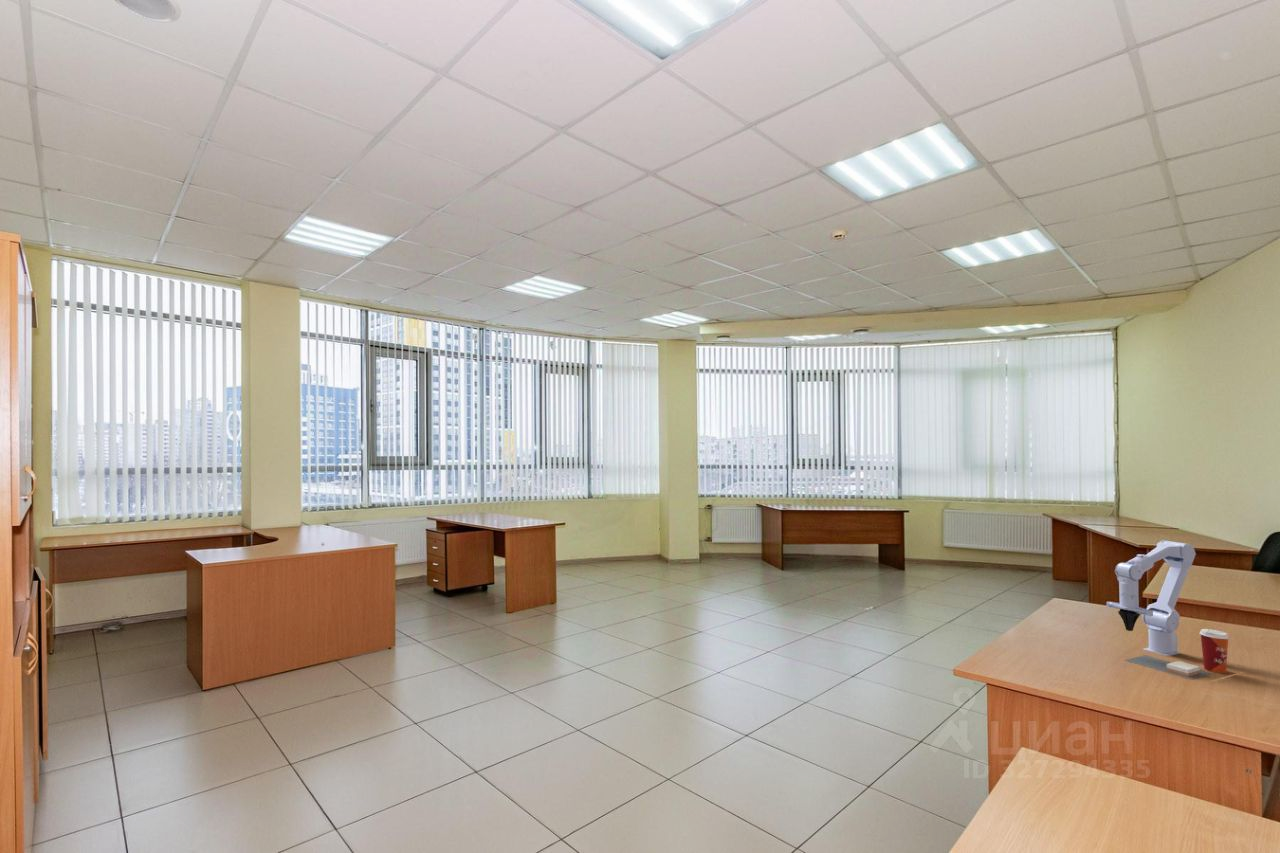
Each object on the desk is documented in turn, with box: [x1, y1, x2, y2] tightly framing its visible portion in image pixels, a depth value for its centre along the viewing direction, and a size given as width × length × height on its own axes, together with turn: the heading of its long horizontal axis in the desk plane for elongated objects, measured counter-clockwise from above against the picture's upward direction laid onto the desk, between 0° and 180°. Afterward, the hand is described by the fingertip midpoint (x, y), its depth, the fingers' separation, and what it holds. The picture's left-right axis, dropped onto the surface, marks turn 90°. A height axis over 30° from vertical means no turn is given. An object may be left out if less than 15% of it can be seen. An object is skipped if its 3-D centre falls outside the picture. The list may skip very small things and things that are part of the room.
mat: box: [1124, 654, 1213, 681], centre depth 214 cm, size 14×20×1 cm
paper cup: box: [1199, 628, 1230, 674], centre depth 212 cm, size 8×8×14 cm
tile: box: [1167, 660, 1201, 677], centre depth 209 cm, size 8×2×6 cm
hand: (1129, 630), depth 228 cm, fingers closed
